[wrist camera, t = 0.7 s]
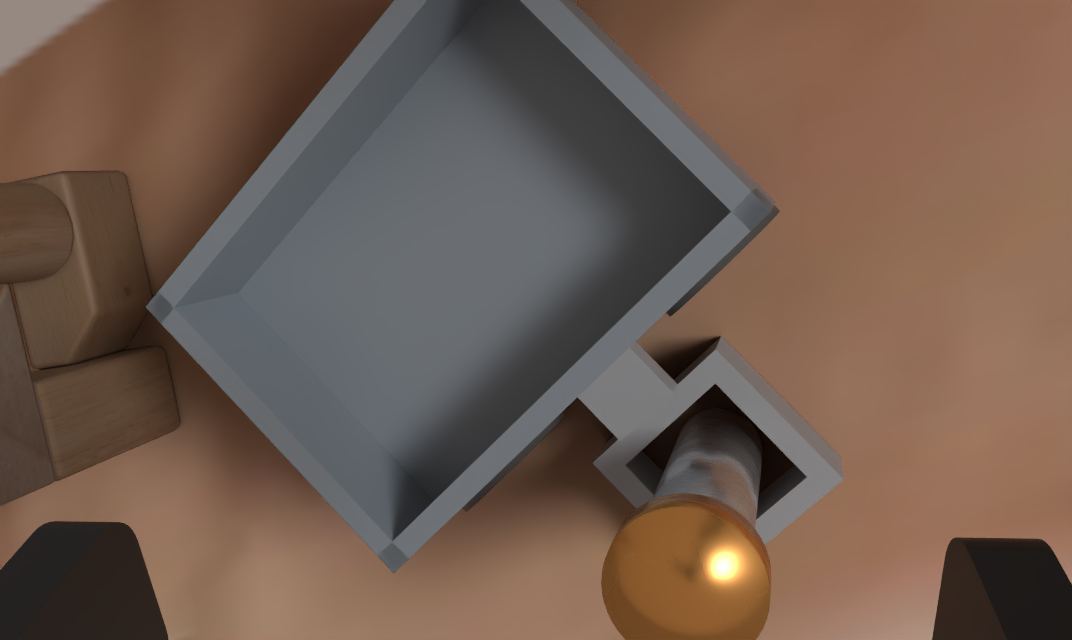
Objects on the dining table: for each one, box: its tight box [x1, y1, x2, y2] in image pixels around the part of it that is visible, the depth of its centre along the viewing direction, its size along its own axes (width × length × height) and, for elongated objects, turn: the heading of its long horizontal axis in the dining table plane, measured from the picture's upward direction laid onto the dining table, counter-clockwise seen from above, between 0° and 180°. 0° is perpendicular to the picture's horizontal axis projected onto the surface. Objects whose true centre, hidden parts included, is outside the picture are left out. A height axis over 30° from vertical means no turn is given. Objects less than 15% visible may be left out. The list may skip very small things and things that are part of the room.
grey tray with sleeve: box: [146, 0, 844, 573], centre depth 30 cm, size 15×19×9 cm
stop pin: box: [601, 408, 771, 640], centre depth 28 cm, size 4×4×12 cm
